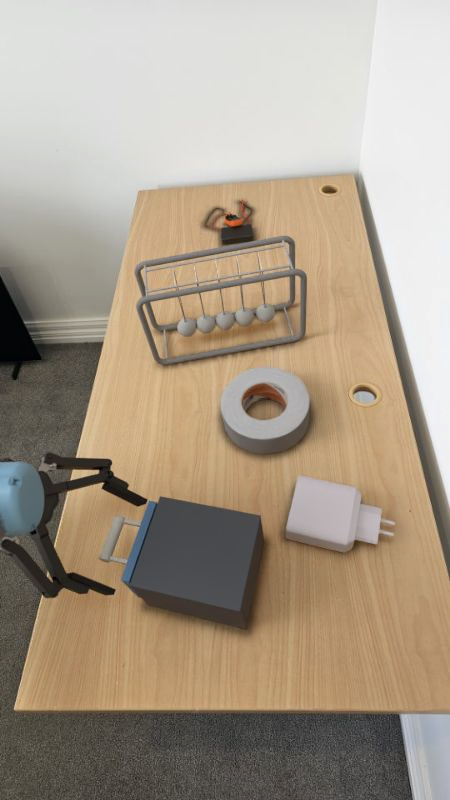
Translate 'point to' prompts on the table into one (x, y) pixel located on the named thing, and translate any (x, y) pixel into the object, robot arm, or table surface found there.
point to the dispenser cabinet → (200, 561)
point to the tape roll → (273, 431)
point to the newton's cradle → (224, 318)
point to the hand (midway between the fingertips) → (127, 545)
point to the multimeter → (235, 228)
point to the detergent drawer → (137, 546)
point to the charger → (332, 516)
